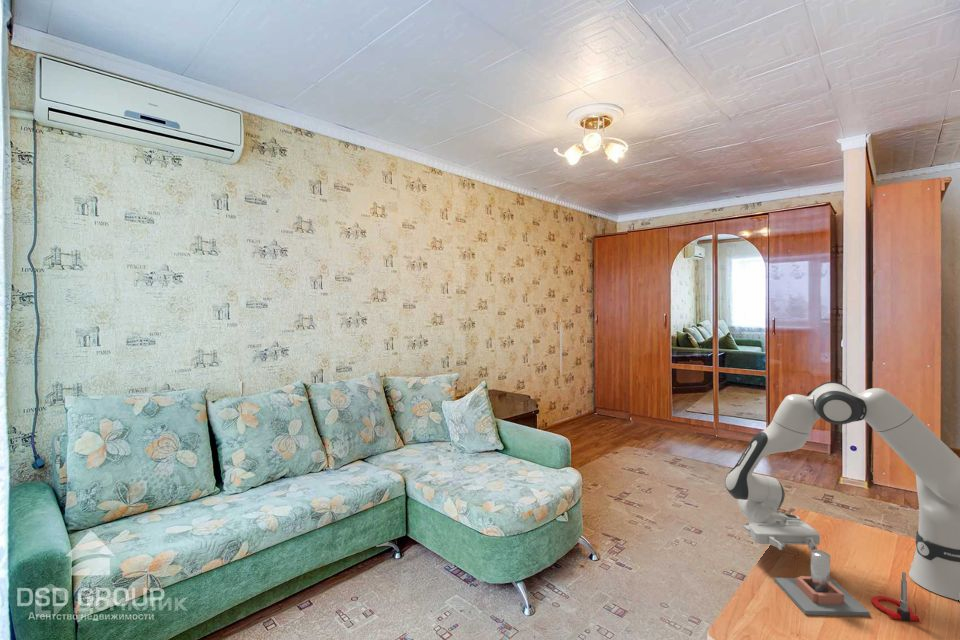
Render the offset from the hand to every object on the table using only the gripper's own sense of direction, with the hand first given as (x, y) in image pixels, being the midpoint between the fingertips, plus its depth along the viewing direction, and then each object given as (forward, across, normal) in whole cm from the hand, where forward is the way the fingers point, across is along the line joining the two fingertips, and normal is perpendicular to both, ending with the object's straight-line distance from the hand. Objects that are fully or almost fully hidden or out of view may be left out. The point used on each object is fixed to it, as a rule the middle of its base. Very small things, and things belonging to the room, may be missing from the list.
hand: (798, 548), depth 137 cm
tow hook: (+13, +17, +10) cm, 24 cm away
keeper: (+9, 0, +9) cm, 13 cm away
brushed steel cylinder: (+9, 0, +8) cm, 12 cm away
